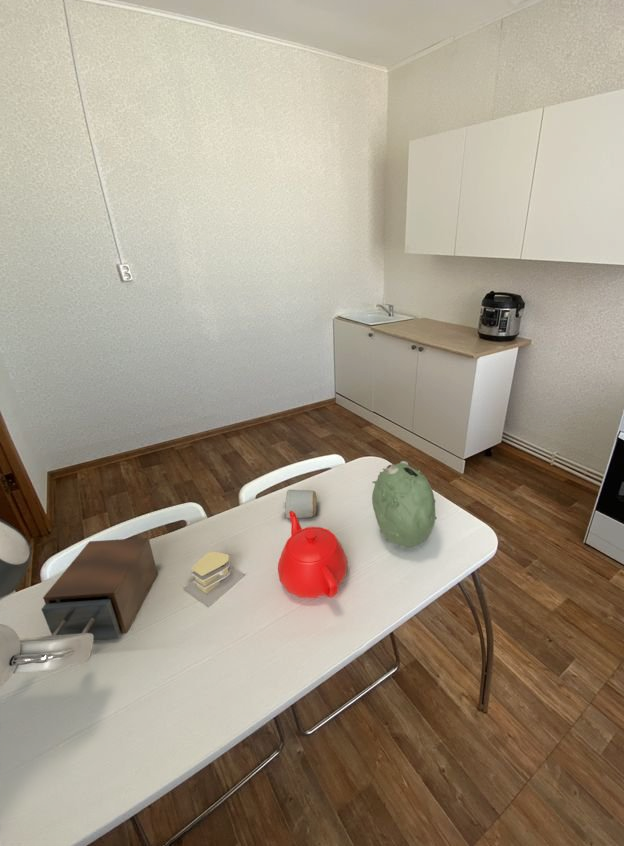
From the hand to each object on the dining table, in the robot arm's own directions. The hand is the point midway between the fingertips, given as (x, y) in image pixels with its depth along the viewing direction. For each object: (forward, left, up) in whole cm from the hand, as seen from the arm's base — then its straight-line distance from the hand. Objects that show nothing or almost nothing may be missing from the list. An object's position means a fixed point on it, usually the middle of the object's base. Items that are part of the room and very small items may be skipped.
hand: (48, 645), depth 63 cm
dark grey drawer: (0, +11, -8) cm, 14 cm away
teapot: (+42, +20, -10) cm, 47 cm away
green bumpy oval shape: (+65, +30, -10) cm, 72 cm away
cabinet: (0, +16, -9) cm, 19 cm away
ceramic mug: (+38, +43, -10) cm, 58 cm away
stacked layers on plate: (+20, +20, -10) cm, 30 cm away
